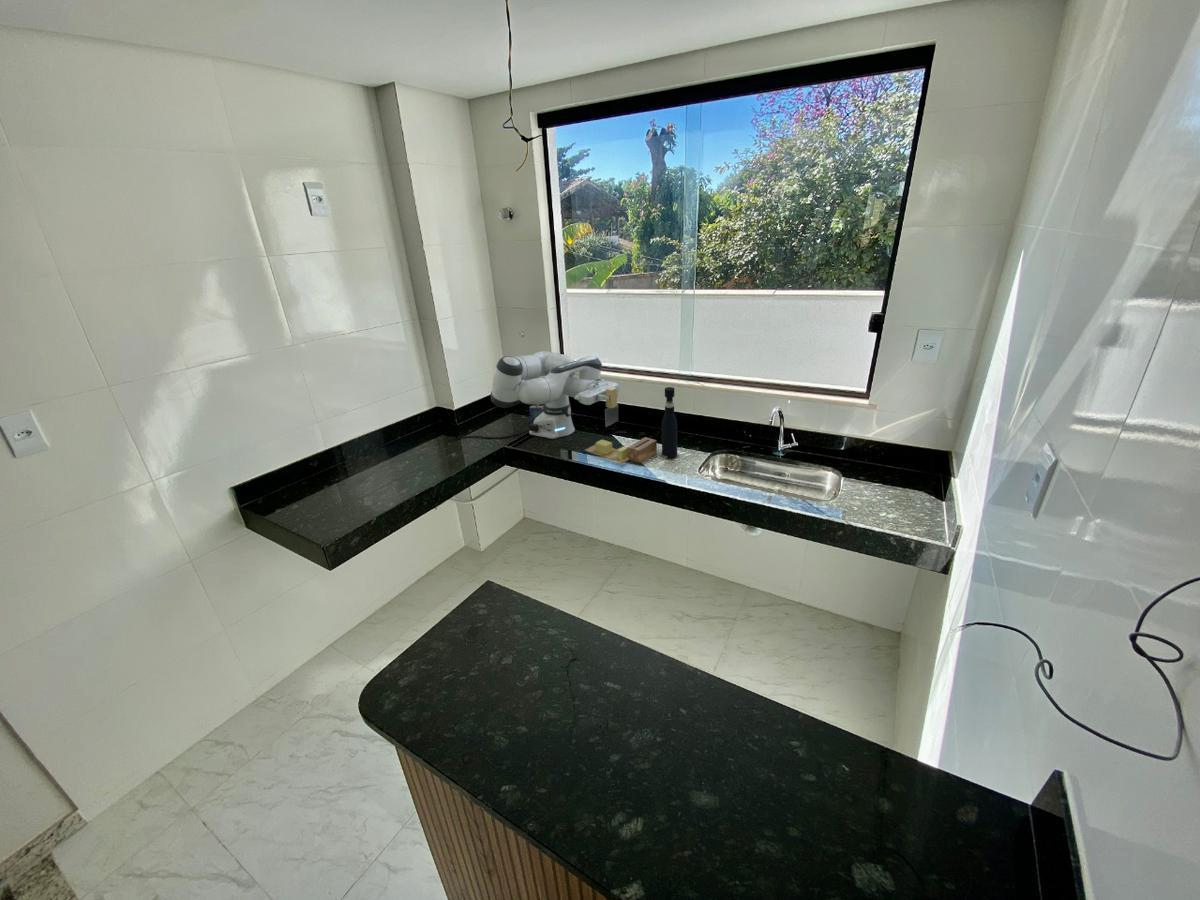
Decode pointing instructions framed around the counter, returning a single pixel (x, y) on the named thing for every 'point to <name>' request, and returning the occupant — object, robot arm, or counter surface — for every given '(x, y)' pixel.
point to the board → (611, 455)
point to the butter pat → (622, 453)
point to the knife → (611, 407)
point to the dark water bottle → (669, 427)
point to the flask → (535, 412)
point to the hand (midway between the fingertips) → (613, 396)
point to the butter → (603, 446)
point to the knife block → (642, 450)
